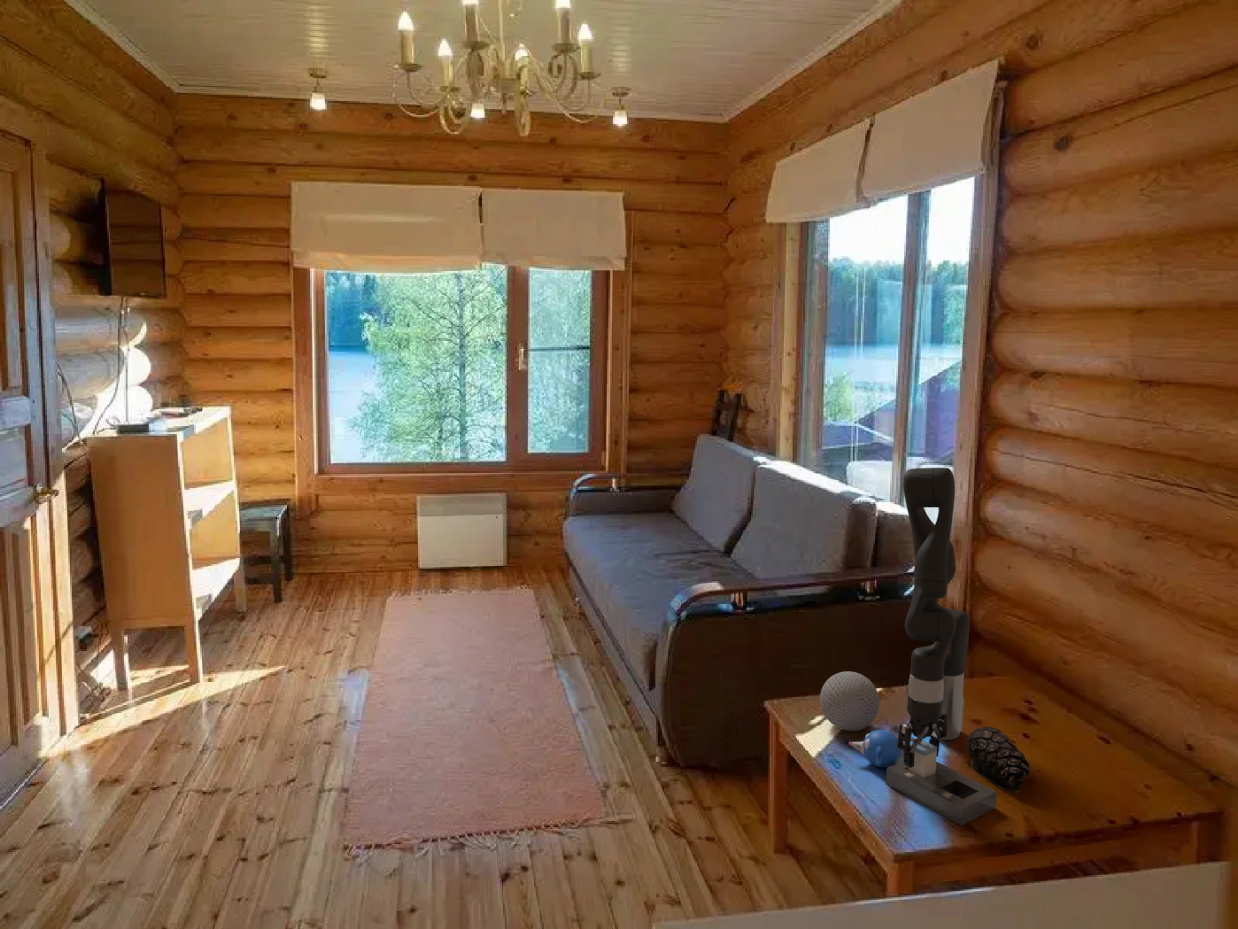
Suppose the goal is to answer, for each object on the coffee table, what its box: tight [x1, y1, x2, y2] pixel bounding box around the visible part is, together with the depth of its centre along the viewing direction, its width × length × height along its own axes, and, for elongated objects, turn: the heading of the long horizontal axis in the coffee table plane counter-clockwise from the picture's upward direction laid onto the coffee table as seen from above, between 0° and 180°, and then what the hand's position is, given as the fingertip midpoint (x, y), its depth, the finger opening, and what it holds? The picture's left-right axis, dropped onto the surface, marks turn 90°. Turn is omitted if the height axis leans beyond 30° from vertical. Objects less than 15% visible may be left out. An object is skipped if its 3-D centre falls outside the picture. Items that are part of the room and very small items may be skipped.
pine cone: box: [966, 726, 1031, 795], centre depth 208 cm, size 10×18×10 cm, turn 19°
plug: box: [908, 739, 937, 779], centre depth 203 cm, size 4×4×11 cm
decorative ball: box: [819, 671, 881, 732], centre depth 231 cm, size 15×15×15 cm
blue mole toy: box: [848, 729, 901, 768], centre depth 214 cm, size 12×12×8 cm
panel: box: [885, 760, 998, 827], centre depth 200 cm, size 12×20×4 cm, turn 34°
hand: (921, 761), depth 203 cm, fingers open, 8 cm apart
